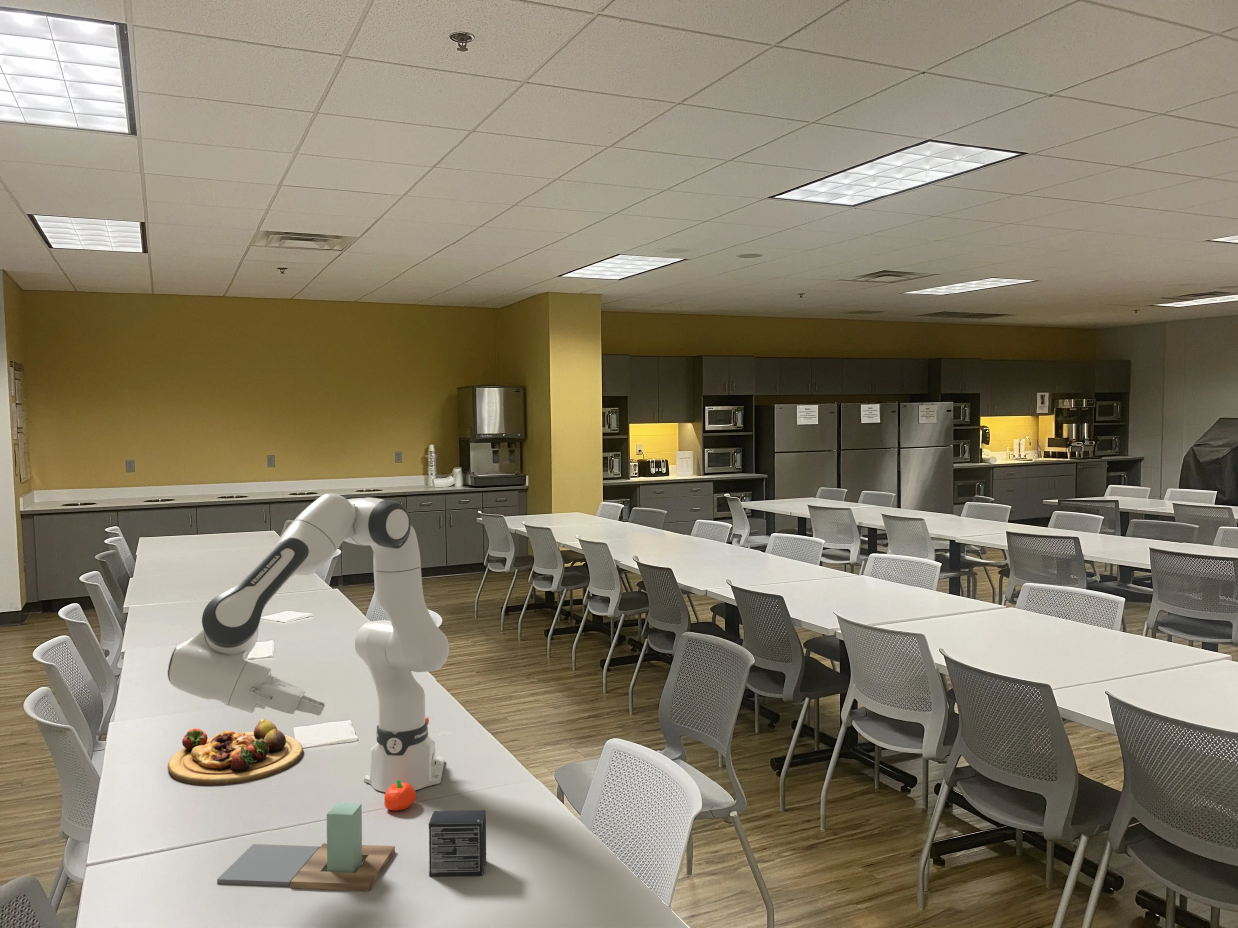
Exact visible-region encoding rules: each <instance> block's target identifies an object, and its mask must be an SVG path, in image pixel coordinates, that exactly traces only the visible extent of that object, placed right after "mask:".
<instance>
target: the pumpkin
mask: <svg viewBox="0 0 1238 928" xmlns="http://www.w3.org/2000/svg"><path fill="white" fill-rule="evenodd" d="M383 798H384V799H383V800H384V802H383V803H384V808H386V810H390V811H394V812H395V811H396V812H397V811H402V810H403V811H404V810H405V809H408V808H409V807H410V806H411V805H412V804H414V802H415V801H416V798H417V792H416V790H414V789H413V787H412V786H411V785H410V784H408V783H401V782H400V780H399V779H398V780H397V783H396V784H392V785H391V786H390V787H389V788H388V789H387V791H386V792H384V797H383Z"/></svg>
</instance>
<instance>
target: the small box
mask: <svg viewBox="0 0 1238 928" xmlns="http://www.w3.org/2000/svg"><path fill="white" fill-rule="evenodd" d="M428 834H429V835H428V843H429V844H428V849H429V850H428V851H429V853H428V858H429V861H428V863H429V871H428V876H429V877H465V876H466V877H468V876H470V877H471V876H477V877H478V876H483V875H484V873H485V868H486V865H487V810H486V809H469V810H468V809H467V810H464V809H463V810H462V809H461V810H433V812H432V815H431V817H430V819H429V822H428Z"/></svg>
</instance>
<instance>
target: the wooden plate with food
mask: <svg viewBox="0 0 1238 928" xmlns="http://www.w3.org/2000/svg"><path fill="white" fill-rule="evenodd" d="M181 743H182V746H183V748H182V749H180V750H179V751H177V752H176V753H175V754H174V755H172V757H171V758H170V759H169V760H168V763H167V771H168V773H169V775H170V776H171V777H172V778H173V779H175V780H177V781H179V782H182V783H185V784H190V785H197V786H223V785H224V786H225V785H235V784H242V783H246V782H251V781H256V780H260V779H263V778H267V777H270V776H273V775H276V774H278V773H281V772H282V771H285V770H287V769H289V768H290V767H292V766H294V765H295V764H297V762H299V760H300V759H301V758H302V756H303V753H304V747H303V745H302V743H301V742H300V741H299V740H298V739H296V738H294V737H292V736H289V735H287V734H284V733H283V732H282V731H281V730H279V729H278V728H277V726H276V725H275V724H274V723H273V722H272V721H270V720H268V719H260V720H259V721H258V723H257V725H256V726H254V729H253V731H250V732H249V731H246V732H245V731H243V732H235V731H233V730H223V732H222V734H221V732H217V733H216V734H215V735H214V736H213V737H209V738H208V734H207V733H206V732H205V731H204V730H202V729H201V728H195V727H193V728H191V729H189V730H188V731H187V732H186V734H185V735H184V736H183V738H182V741H181Z"/></svg>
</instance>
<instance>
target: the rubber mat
mask: <svg viewBox="0 0 1238 928" xmlns="http://www.w3.org/2000/svg"><path fill="white" fill-rule="evenodd" d="M320 846H321V845H320ZM320 846H319V845H316V846H315V845H295V844H294V845H288V844H287V845H286V844H261V843H259V844H258V843H253V844H251V845H250V846H249V847H248V848H247V849H246V850H245V852H243V853H242V854H241V855H240V856H239V857H238V858H237V859H236V860H235V861H234V862H233V863H232V864H230V866H228V868H227V869H225V871H224V872H223V873H222V874H221V875H220V876H219V877H218V878H217V879H216V883H217V884H220V885H221V884H223V885H224V884H225V885H226V884H228V885H247V886H249V885H252V886H253V885H254V886H272V887H273V886H276V887H278V886H279V887H291V880H292V879H293V878H294V877H295V876H296V874H297V873H298V872H299V871H300V870H301V869H302V867H303V866H304V865H305V864H306V863H307V862H308V860H309V859H310V858H311V857H312V856H313V855H314V853H315V852H316V851H317V850H318V849H319V848H320Z"/></svg>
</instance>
